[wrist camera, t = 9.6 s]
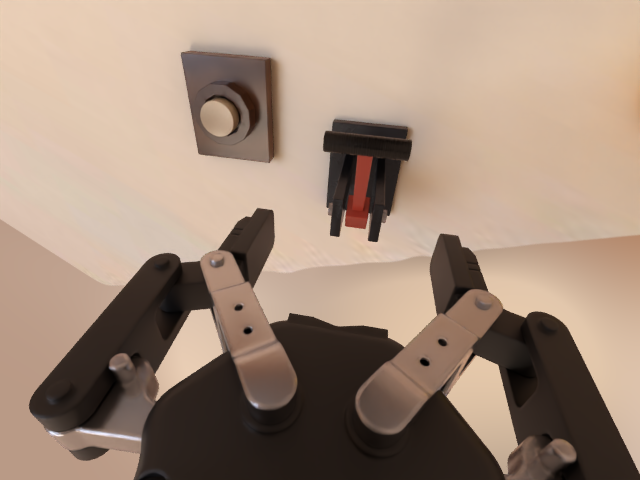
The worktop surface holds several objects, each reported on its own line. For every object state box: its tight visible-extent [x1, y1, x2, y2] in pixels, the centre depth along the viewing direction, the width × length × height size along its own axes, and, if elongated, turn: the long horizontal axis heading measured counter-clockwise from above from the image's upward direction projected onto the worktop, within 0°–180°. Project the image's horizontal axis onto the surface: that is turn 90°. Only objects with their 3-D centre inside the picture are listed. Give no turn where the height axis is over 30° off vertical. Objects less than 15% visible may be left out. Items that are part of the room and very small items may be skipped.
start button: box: [200, 98, 239, 137], centre depth 37 cm, size 4×4×2 cm
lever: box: [323, 131, 412, 229], centre depth 28 cm, size 14×6×2 cm
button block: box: [181, 51, 274, 163], centre depth 39 cm, size 12×10×4 cm
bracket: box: [326, 120, 408, 242], centre depth 37 cm, size 12×9×13 cm
